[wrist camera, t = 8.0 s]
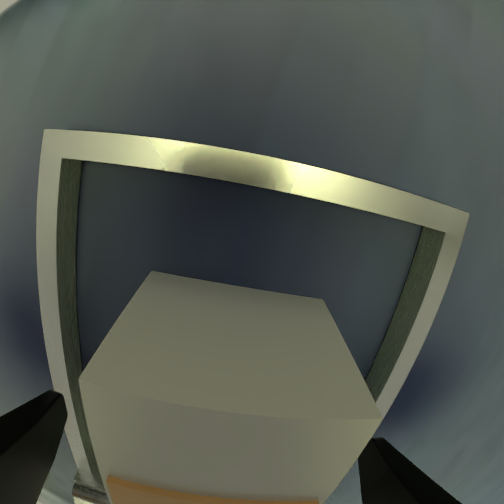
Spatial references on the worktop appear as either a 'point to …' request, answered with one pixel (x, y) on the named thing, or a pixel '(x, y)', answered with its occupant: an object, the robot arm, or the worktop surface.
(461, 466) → the worktop surface
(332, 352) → the block
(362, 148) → the worktop surface
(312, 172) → the case
